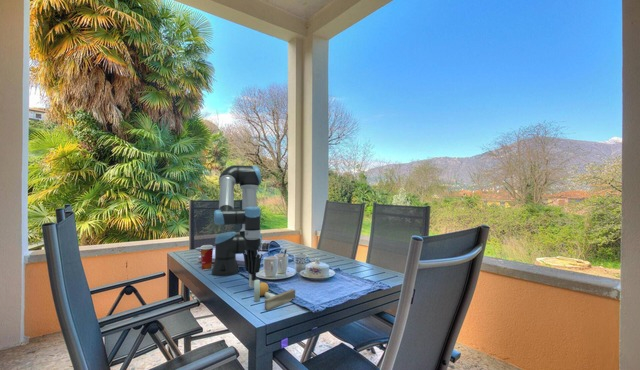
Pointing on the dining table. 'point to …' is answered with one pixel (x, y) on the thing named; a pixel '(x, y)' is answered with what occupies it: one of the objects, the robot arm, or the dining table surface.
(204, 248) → the paper cup
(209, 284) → the dining table surface
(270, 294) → the ivory pin
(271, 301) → the back wall
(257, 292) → the sage pin
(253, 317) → the dining table surface
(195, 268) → the dining table surface
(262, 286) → the ball
